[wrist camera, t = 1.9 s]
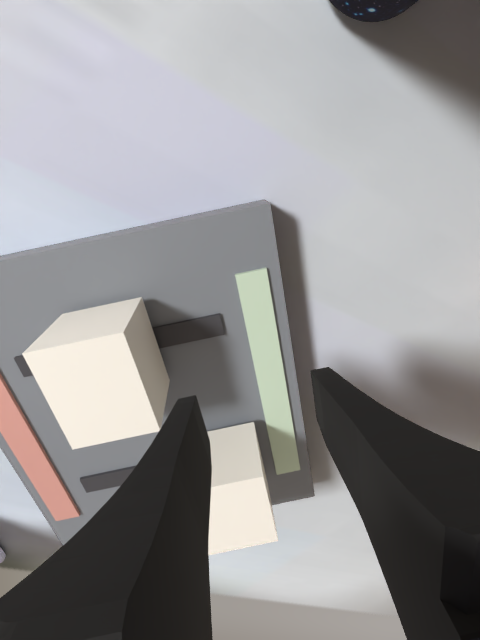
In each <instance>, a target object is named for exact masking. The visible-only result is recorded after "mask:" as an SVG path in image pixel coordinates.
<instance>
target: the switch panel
mask: <svg viewBox="0 0 480 640" xmlns="http://www.w3.org/2000/svg"><path fill="white" fill-rule="evenodd" d="M139 297H142V299H143V302H144V305H145V308H146V311H147V314H148V317H149V320H150V323H151V326H152V329H153V332H154V335H155V338H156V341H157V344H158V347H159V350H160V353H161V356H162V359H163V362H164V365H165V368H166V371H167V374H168V377H169V380H170V382H169V388H168V393H167V398H166V404H165V409H164V414H163V420H162V425H161V427H162V426H163V424H164V422H165V420H166V419H167V417H168V415H169V413H170V412H171V410H172V408H173V406H174V405H175V403H176V401H177V400H178V399H179V398H184V397H189V396H194V395H196V397H197V400H198V403H199V407H200V410H201V413H202V416H203V420H204V423H205V426H206V430H207V432H208V431H213V430H217V429H222V428H227V427H232V426H236V425H241V424H246V423H251V422H254V425H255V429H256V434H257V438H258V443H259V447H260V451H261V456H262V460H263V465H264V469H265V473H266V478H267V483H268V488H269V493H270V499H271V504H272V505H275V504H280V503H284V502H289V501H294V500H299V499H303V498H308V497H313V496H315V495H314V489H313V482H312V475H311V469H310V462H309V456H308V449H307V442H306V436H305V429H304V422H303V416H302V409H301V403H300V396H299V389H298V383H297V376H296V370H295V363H294V356H293V350H292V343H291V336H290V330H289V323H288V317H287V310H286V303H285V297H284V290H283V284H282V277H281V270H280V264H279V257H278V250H277V244H276V237H275V231H274V224H273V217H272V211H271V204H270V203H269V202H268V201H266V200H260V201H255V202H250V203H246V204H241V205H236V206H232V207H227V208H222V209H218V210H213V211H208V212H204V213H199V214H194V215H190V216H185V217H180V218H176V219H171V220H166V221H162V222H157V223H152V224H148V225H143V226H138V227H133V228H129V229H124V230H119V231H115V232H110V233H105V234H101V235H96V236H91V237H87V238H82V239H77V240H73V241H68V242H63V243H59V244H54V245H49V246H45V247H40V248H35V249H31V250H26V251H21V252H17V253H12V254H7V255H3V256H0V448H1V449H2V451H3V453H4V454H5V456H6V457H7V459H8V460H9V462H10V463H11V465H12V467H13V468H14V470H15V471H16V473H17V474H18V476H19V478H20V479H21V481H22V482H23V484H24V485H25V487H26V489H27V490H28V492H29V493H30V495H31V496H32V498H33V499H34V501H35V503H36V504H37V506H38V507H39V509H40V510H41V512H42V514H43V515H44V517H45V518H46V520H47V521H48V523H49V524H50V526H51V528H52V529H53V531H54V532H55V534H56V535H57V537H58V539H59V540H60V542H61V543H62V545H64V544H65V543H67V542H68V541H69V540H70V539H71V538H72V537H73V536H74V535H75V534H76V533H77V532H78V531H79V530H80V529H81V528H82V527H83V526H84V525H85V524H86V523H87V522H88V521H89V520H90V519H91V518H92V517H93V516H94V515H95V514H96V513H97V512H98V511H99V510H100V508H101V507H102V506H103V505H104V504H105V503H106V502H107V501H108V500H109V499H110V498H111V497H112V496H113V494H114V493H115V492H116V491H117V490H118V488H119V487H120V486H121V485H122V484H123V482H124V481H125V480H126V479H127V477H128V476H129V475H130V474H131V472H132V471H133V470H134V468H135V467H136V465H137V464H138V462H139V461H140V460H141V458H142V457H143V455H144V454H145V452H146V451H147V450H148V448H149V446H150V445H151V443H152V442H153V440H154V439H155V437H156V435H157V434H158V432H154V433H149V434H144V435H140V436H135V437H130V438H125V439H121V440H116V441H111V442H106V443H102V444H97V445H92V446H87V447H83V448H78V449H73V450H72V448H71V446H70V444H69V442H68V440H67V438H66V436H65V434H64V433H63V431H62V429H61V427H60V425H59V423H58V421H57V419H56V417H55V415H54V413H53V412H52V410H51V408H50V406H49V404H48V402H47V400H46V398H45V396H44V394H43V393H42V391H41V389H40V387H39V385H38V383H37V381H36V379H35V377H34V375H33V374H32V372H31V370H30V368H29V366H28V364H27V362H26V360H25V358H24V356H23V355H22V353H23V352H24V351H25V350H26V349H27V348H28V347H29V346H30V345H31V344H32V343H33V342H34V341H35V340H36V339H37V338H38V337H40V336H41V335H42V334H43V333H44V332H45V331H46V330H47V329H48V328H49V327H50V326H51V325H52V324H53V323H54V322H55V321H56V320H57V319H58V318H59V317H60V316H61V315H62V314H64V313H69V312H74V311H78V310H83V309H88V308H92V307H97V306H102V305H106V304H111V303H116V302H120V301H125V300H130V299H135V298H139Z"/></svg>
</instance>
